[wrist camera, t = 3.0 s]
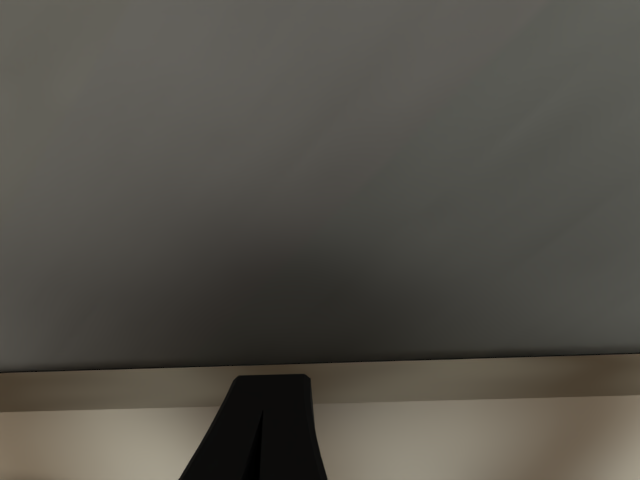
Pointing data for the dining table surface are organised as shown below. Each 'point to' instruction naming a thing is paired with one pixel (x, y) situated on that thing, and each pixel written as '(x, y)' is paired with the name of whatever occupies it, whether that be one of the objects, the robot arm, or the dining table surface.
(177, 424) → the board
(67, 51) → the dining table surface
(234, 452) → the robot arm
